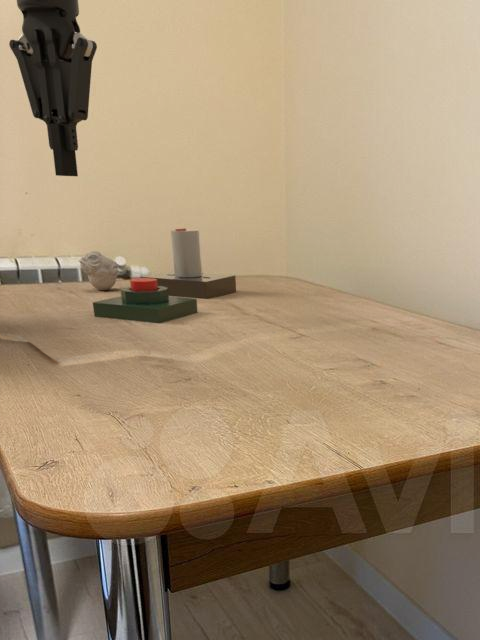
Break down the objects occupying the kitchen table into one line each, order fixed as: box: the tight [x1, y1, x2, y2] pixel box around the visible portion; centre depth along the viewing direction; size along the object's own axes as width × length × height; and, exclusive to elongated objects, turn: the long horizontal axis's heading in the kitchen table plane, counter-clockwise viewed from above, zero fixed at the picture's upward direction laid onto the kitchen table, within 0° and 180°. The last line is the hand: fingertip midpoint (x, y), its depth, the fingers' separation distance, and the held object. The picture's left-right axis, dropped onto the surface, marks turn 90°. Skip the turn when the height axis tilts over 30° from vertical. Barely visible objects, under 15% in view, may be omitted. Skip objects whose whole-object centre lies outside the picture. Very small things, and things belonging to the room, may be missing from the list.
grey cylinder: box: [170, 227, 203, 278], centre depth 129 cm, size 5×5×8 cm
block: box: [92, 285, 199, 324], centre depth 110 cm, size 12×10×4 cm
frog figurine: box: [78, 250, 119, 291], centre depth 131 cm, size 6×7×7 cm
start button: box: [129, 277, 158, 291], centre depth 109 cm, size 4×4×2 cm
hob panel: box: [139, 270, 237, 300], centre depth 131 cm, size 14×10×3 cm
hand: (66, 175), depth 101 cm, fingers closed
